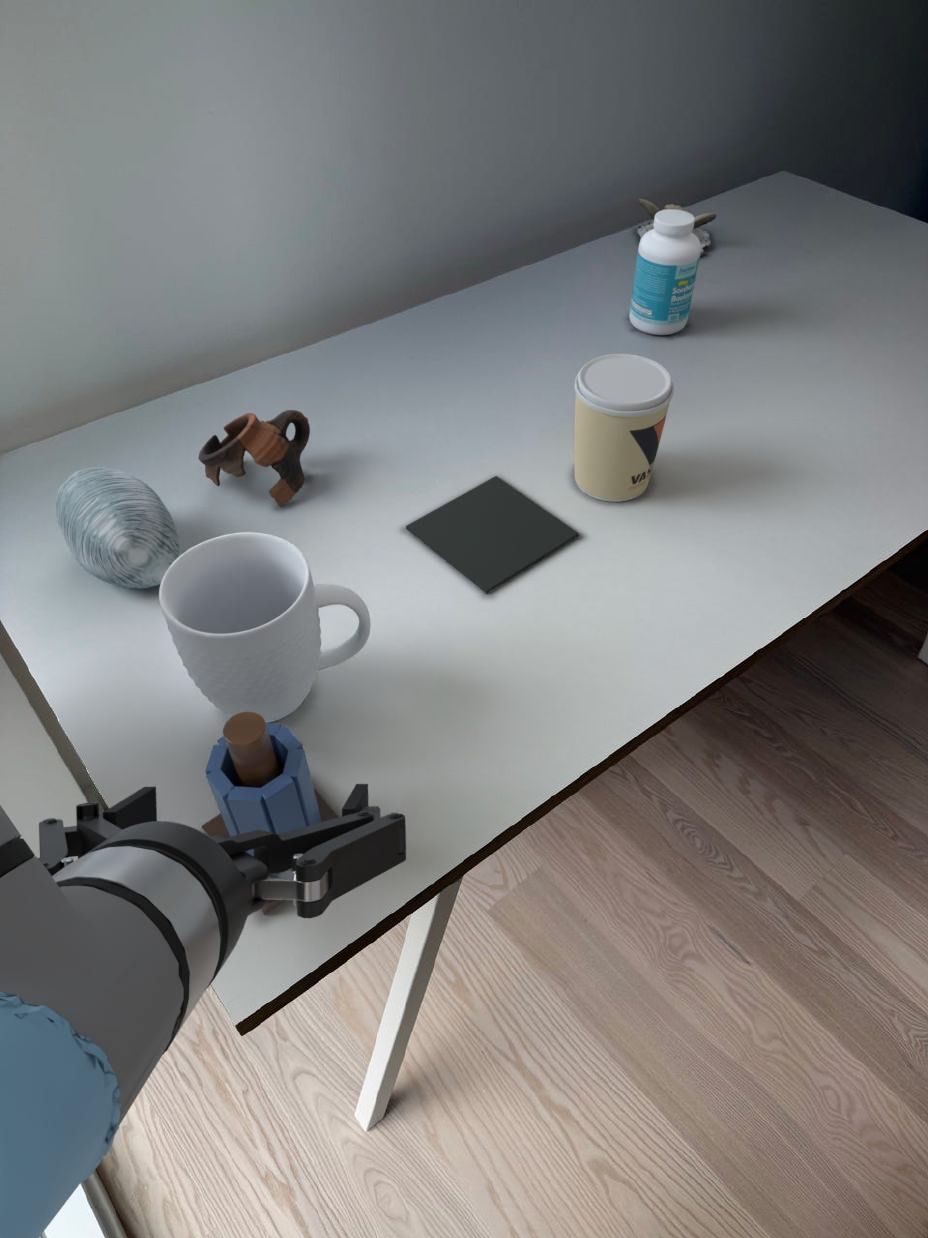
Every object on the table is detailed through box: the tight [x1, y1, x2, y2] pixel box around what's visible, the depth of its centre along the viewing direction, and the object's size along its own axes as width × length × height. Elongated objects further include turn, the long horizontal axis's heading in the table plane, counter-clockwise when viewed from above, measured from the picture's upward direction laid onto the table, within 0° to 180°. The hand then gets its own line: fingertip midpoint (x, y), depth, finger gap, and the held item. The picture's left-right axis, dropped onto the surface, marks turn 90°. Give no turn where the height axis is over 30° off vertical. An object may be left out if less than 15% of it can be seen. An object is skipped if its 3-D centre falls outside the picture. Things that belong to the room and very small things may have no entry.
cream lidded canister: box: [574, 353, 675, 503], centre depth 89 cm, size 9×9×12 cm
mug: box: [158, 531, 372, 723], centre depth 70 cm, size 15×11×13 cm
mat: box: [405, 475, 579, 594], centre depth 87 cm, size 12×12×1 cm
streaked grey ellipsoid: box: [55, 466, 181, 589], centre depth 83 cm, size 14×10×10 cm
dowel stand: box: [200, 711, 340, 916], centre depth 60 cm, size 8×8×14 cm
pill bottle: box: [628, 209, 701, 336], centre depth 110 cm, size 8×7×14 cm
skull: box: [636, 198, 717, 257], centre depth 128 cm, size 12×10×9 cm
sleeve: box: [204, 722, 322, 857], centre depth 60 cm, size 6×6×9 cm
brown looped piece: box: [198, 409, 311, 507], centre depth 92 cm, size 12×10×8 cm
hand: (256, 806), depth 57 cm, fingers open, 13 cm apart
